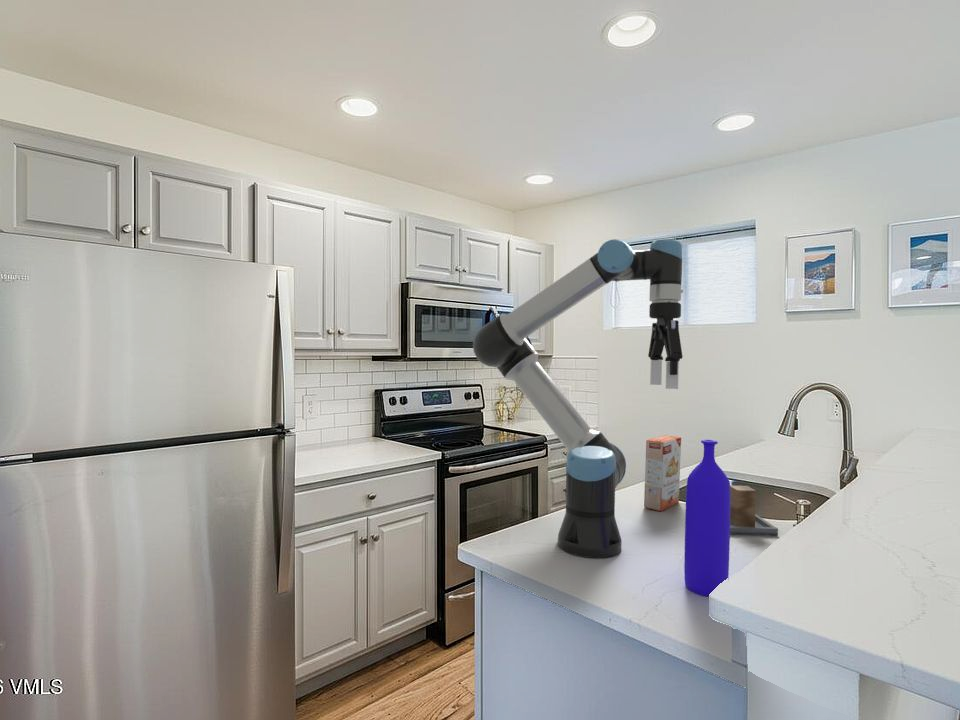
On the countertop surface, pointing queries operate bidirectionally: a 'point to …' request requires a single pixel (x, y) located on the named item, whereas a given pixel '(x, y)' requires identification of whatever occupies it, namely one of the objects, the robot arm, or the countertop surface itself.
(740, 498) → the walnut block
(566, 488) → the robot arm
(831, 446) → the countertop surface
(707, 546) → the bottle
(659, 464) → the cracker box
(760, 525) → the slate tray
